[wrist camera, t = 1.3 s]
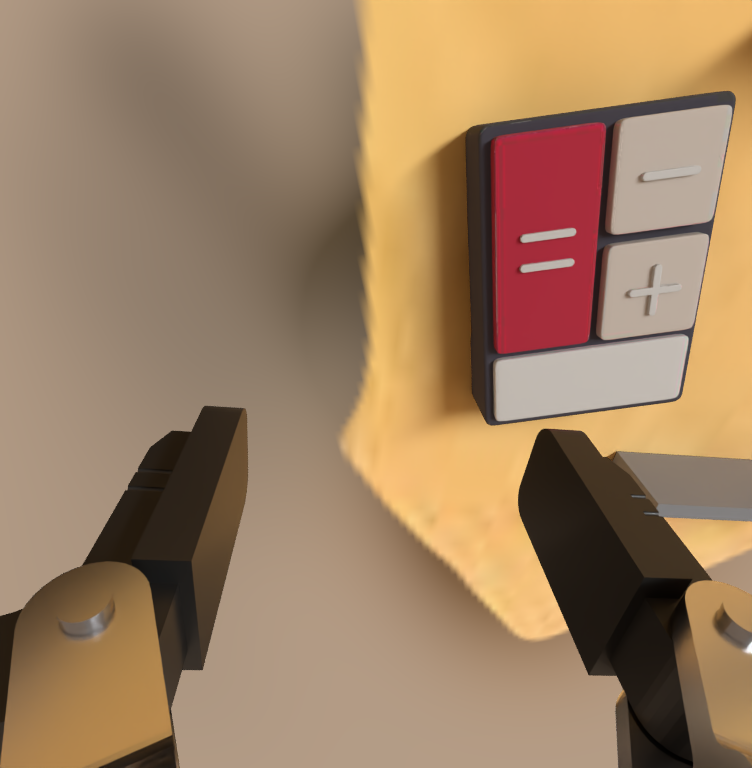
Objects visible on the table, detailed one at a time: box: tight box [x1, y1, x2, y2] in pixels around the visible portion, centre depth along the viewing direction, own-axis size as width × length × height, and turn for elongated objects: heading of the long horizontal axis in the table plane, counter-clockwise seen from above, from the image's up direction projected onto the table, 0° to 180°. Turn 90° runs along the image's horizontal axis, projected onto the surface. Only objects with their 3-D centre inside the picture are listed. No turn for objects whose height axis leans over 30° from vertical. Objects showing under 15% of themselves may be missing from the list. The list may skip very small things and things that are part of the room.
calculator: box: [466, 91, 736, 425], centre depth 25 cm, size 11×4×15 cm
